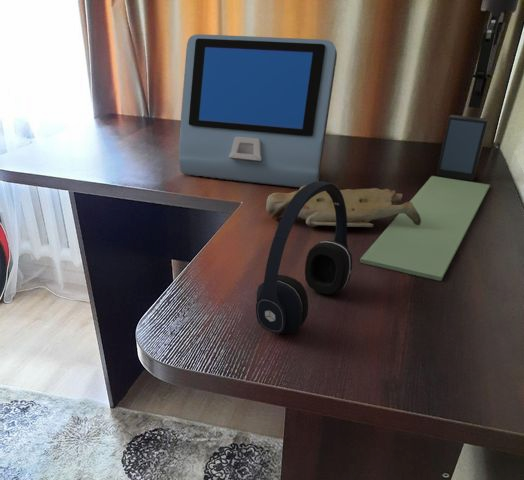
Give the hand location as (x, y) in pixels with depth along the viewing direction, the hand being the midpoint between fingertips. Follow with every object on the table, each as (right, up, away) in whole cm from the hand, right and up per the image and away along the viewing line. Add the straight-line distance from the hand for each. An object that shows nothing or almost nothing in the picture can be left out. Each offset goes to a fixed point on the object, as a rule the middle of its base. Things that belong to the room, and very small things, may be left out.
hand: (474, 107), depth 126 cm
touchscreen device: (-54, -16, +3) cm, 57 cm away
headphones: (-46, -55, -51) cm, 88 cm away
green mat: (-17, -33, -20) cm, 43 cm away
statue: (-37, -35, -24) cm, 56 cm away
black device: (-3, -16, +4) cm, 17 cm away
